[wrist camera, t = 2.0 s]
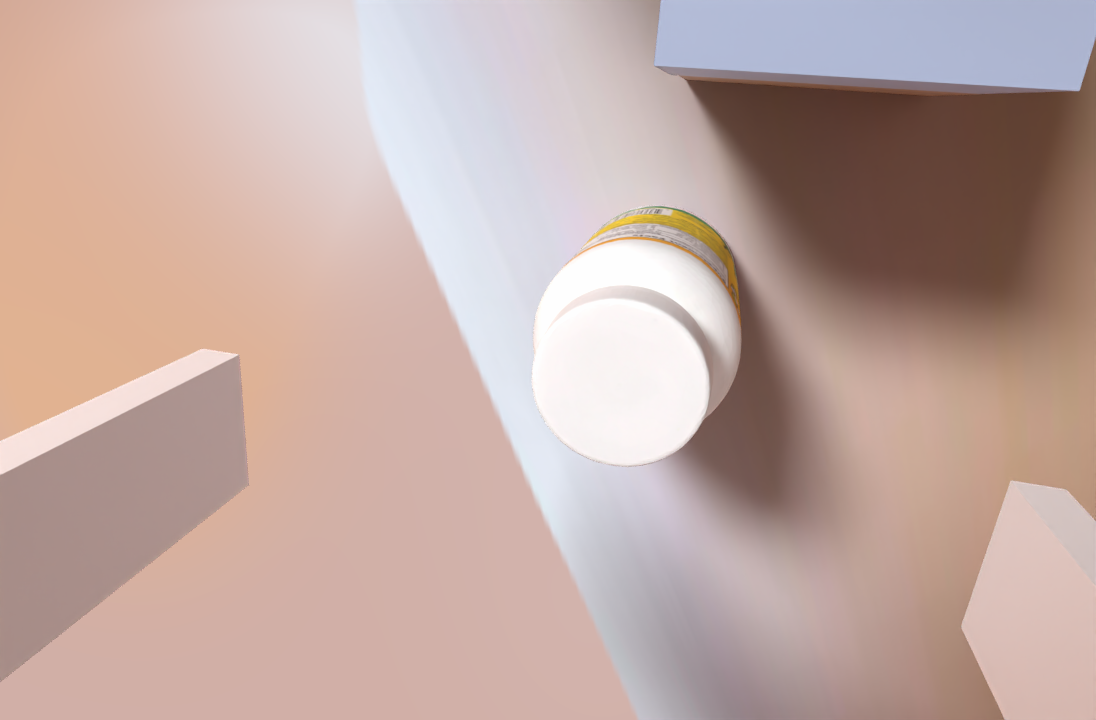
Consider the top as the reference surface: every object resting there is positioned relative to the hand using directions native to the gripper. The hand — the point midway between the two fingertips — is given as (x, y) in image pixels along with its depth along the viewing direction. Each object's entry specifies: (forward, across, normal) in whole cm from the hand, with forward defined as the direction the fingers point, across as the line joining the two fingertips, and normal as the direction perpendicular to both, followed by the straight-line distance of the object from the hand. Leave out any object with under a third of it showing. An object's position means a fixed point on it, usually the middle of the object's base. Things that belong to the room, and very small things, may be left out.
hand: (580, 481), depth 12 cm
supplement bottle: (+14, 0, 0) cm, 14 cm away
